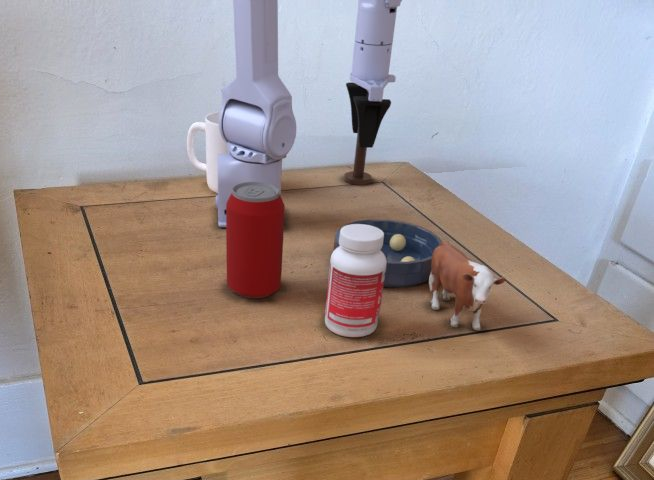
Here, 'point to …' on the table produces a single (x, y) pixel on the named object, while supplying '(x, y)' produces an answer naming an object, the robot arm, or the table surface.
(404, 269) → the bowl
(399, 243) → the bead
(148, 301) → the table surface
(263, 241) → the beverage can
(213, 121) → the cup
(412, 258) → the bead
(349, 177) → the brown peg stand
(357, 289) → the pill bottle
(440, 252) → the bull figurine
